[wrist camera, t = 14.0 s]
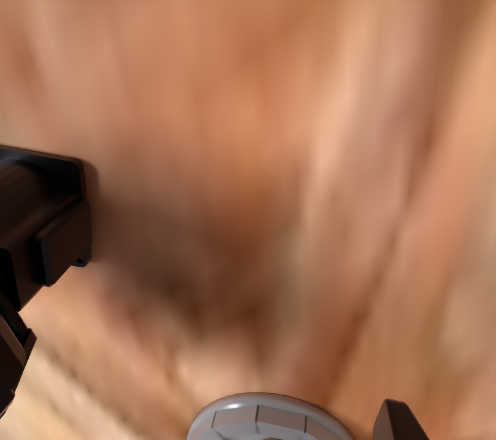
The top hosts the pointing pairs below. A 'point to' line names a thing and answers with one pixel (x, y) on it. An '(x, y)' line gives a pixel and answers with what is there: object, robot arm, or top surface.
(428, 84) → the top surface
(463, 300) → the top surface
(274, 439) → the walnut block
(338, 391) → the top surface
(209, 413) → the gray bowl
